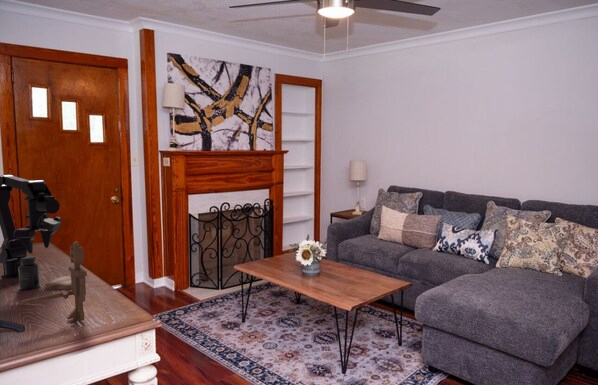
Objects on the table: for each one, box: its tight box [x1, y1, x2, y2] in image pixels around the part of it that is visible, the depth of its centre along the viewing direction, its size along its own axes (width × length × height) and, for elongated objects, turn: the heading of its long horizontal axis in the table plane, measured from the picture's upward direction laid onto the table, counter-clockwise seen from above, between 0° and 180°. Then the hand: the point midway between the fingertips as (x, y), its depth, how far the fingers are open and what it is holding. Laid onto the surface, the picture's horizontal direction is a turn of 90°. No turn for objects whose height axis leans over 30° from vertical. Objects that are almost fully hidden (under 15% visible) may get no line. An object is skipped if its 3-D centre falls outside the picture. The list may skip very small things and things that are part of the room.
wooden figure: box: [21, 240, 88, 328], centre depth 133 cm, size 14×18×25 cm
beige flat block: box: [44, 275, 86, 291], centre depth 172 cm, size 10×10×3 cm
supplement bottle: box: [18, 255, 41, 291], centre depth 168 cm, size 7×7×12 cm
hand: (38, 250), depth 175 cm, fingers open, 9 cm apart
